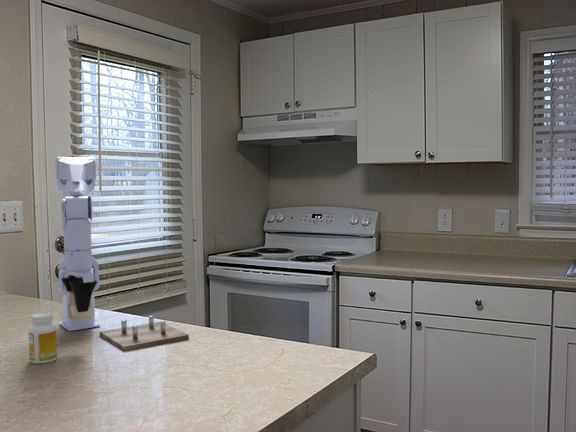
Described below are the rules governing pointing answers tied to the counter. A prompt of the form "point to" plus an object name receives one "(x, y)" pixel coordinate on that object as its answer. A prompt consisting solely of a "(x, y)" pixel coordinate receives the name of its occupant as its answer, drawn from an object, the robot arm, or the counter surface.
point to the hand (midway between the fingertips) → (79, 309)
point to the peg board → (143, 335)
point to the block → (72, 309)
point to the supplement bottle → (42, 339)
